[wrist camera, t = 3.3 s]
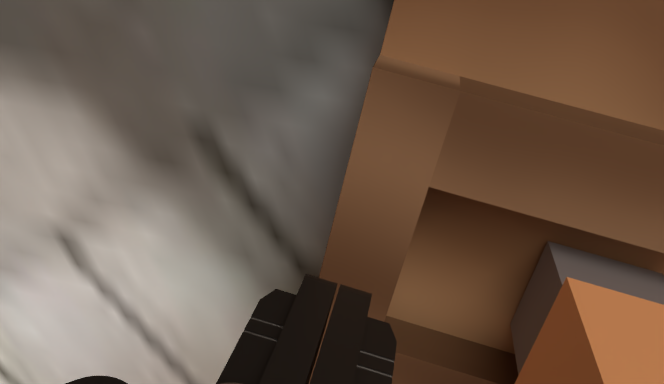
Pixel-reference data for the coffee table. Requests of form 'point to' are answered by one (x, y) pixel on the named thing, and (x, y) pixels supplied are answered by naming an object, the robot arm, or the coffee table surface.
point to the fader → (589, 321)
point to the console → (497, 168)
